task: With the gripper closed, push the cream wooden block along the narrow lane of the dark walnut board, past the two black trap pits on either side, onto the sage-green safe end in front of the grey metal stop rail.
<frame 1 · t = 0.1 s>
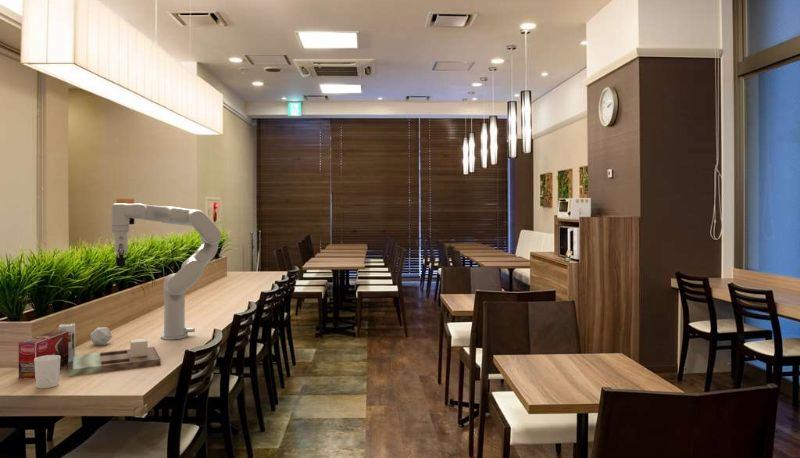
hand: (120, 265, 256), 37 cm above the table, tool pointing down, fingers open, 9 cm apart
die: (101, 344, 253), on the table
ice cream box: (44, 371, 210), on the table
cream block: (138, 354, 226), point 2 cm above the table, touching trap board
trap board: (114, 363, 221), on the table
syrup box: (67, 359, 227), on the table
white cup: (47, 386, 192), on the table
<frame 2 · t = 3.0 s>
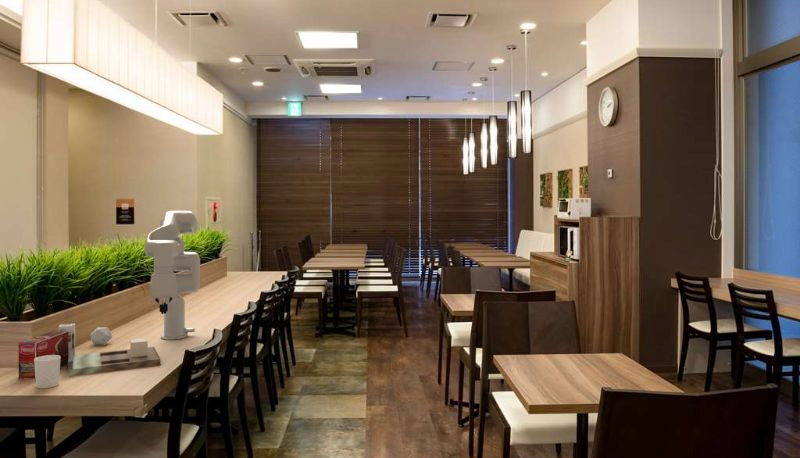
hand: (163, 313, 230), 19 cm above the table, tool pointing down, fingers closed
nothing on the table moved.
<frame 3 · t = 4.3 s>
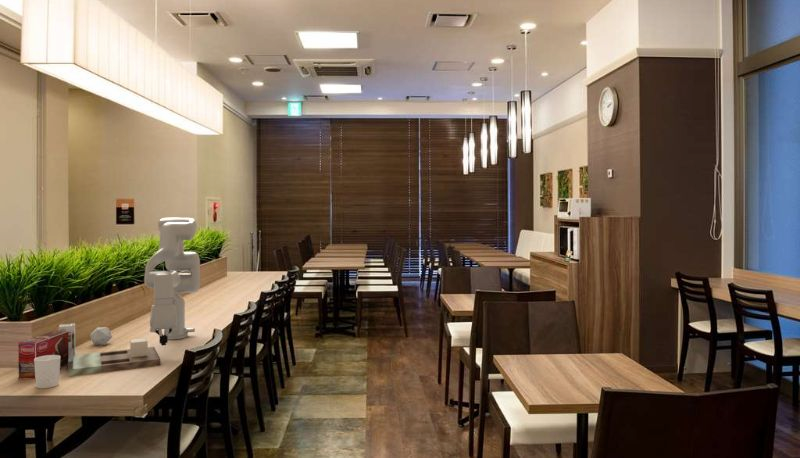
hand: (163, 344, 230), 6 cm above the table, tool pointing down, fingers closed
nothing on the table moved.
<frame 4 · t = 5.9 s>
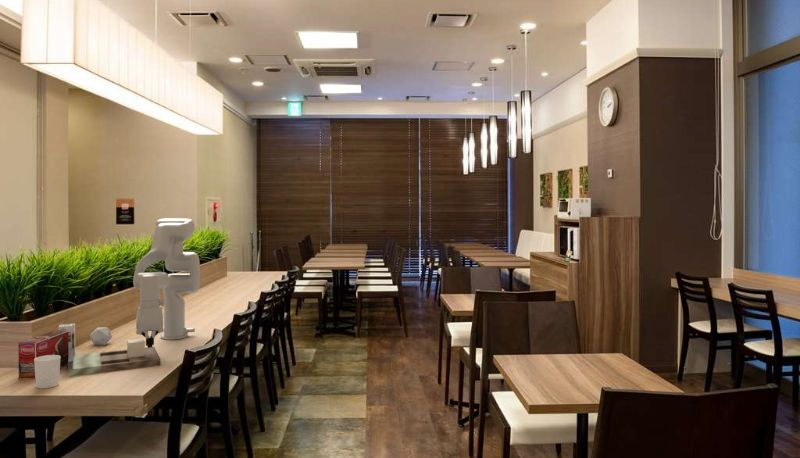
hand: (149, 346, 228), 5 cm above the table, tool pointing down, fingers closed
cream block: (136, 355, 225), point 3 cm above the table, touching gripper, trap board
everything else where it was.
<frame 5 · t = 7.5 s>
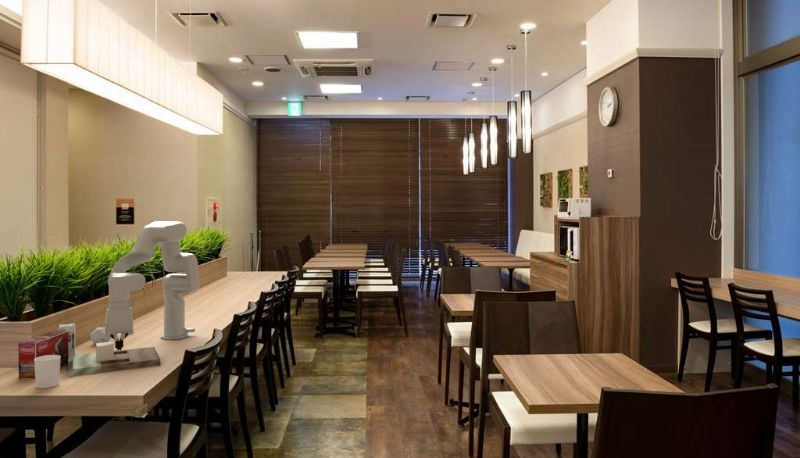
hand: (119, 349, 222), 6 cm above the table, tool pointing down, fingers closed
cream block: (104, 358, 219), point 3 cm above the table, touching gripper, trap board
everything else where it was.
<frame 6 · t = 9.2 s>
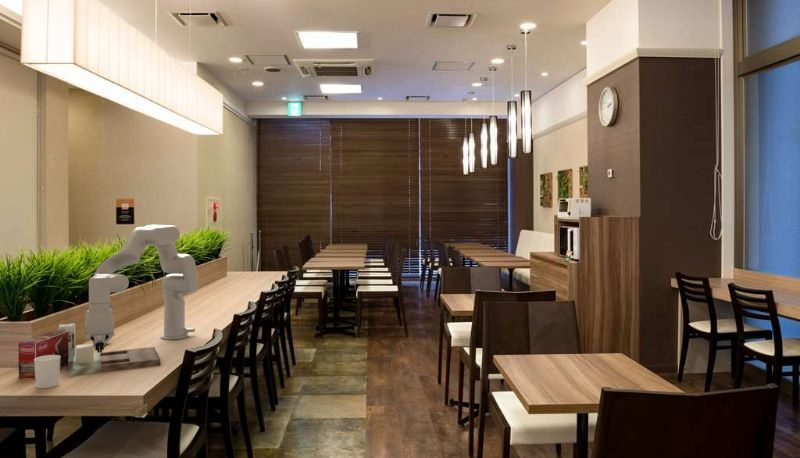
hand: (99, 351, 218), 5 cm above the table, tool pointing down, fingers closed
cream block: (84, 360, 215), point 2 cm above the table, touching gripper, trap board
everything else where it was.
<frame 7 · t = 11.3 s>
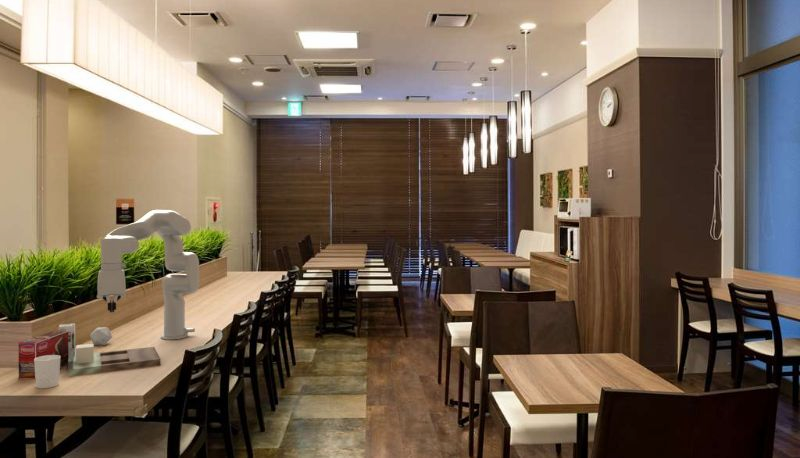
hand: (111, 311, 221), 21 cm above the table, tool pointing down, fingers closed
cream block: (84, 360, 215), point 2 cm above the table, touching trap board
everything else where it was.
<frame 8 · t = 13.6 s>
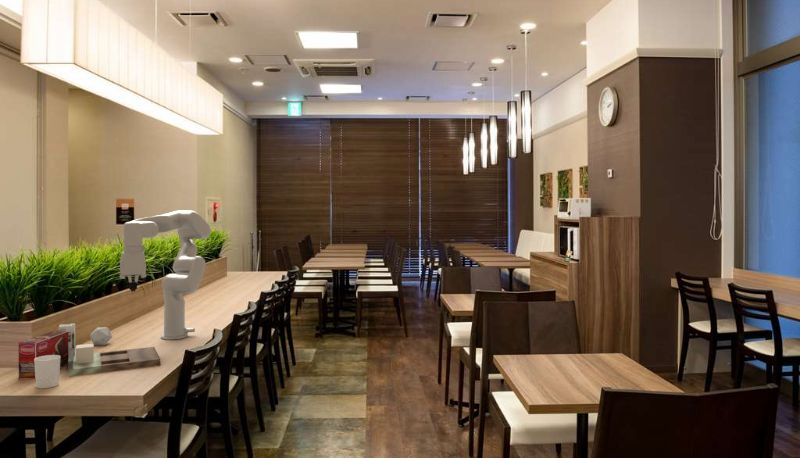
hand: (133, 291, 239), 27 cm above the table, tool pointing down, fingers closed
nothing on the table moved.
at the end: cream block inside the target area (0.7 cm from its centre), point 2.5 cm above the table; cream block tilted 0° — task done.
